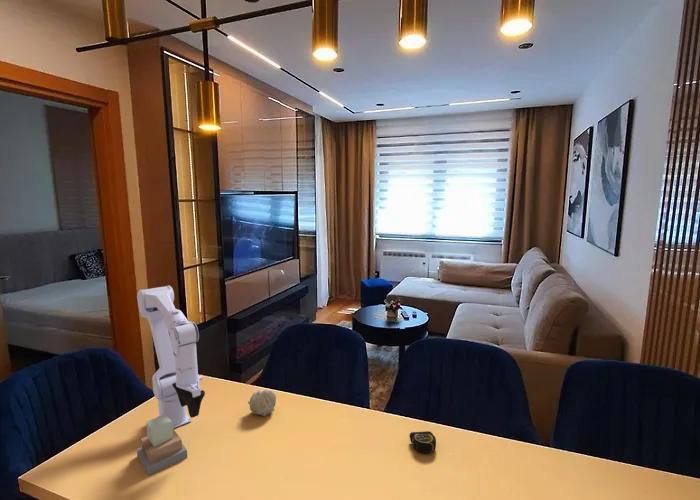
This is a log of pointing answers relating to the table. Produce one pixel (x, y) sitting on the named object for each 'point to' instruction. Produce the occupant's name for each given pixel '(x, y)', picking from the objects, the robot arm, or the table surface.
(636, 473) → the table surface
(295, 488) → the table surface
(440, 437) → the table surface
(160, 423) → the green cube
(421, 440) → the tape measure
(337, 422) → the table surface
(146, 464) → the tower base
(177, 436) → the tower top
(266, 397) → the garlic bulb
